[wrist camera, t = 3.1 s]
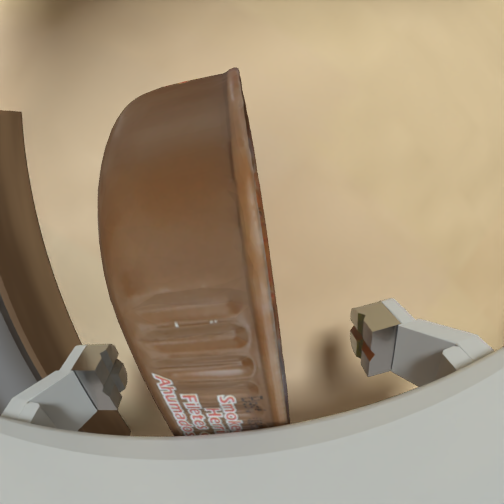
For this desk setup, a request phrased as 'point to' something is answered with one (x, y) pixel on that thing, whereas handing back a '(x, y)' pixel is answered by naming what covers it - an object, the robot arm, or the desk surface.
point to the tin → (193, 257)
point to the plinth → (31, 288)
